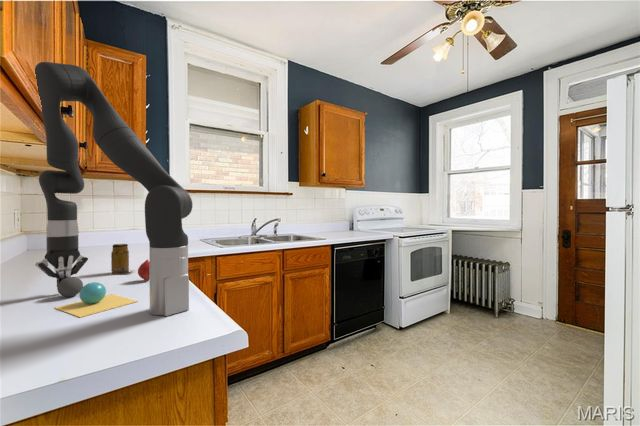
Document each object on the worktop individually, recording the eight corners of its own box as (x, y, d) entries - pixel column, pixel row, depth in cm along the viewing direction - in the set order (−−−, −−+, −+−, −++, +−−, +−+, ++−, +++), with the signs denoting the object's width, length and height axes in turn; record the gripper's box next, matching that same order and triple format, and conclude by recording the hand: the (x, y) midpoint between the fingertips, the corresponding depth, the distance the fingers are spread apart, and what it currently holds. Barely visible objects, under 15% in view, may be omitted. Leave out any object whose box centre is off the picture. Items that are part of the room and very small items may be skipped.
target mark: (137, 301, 84) (137, 301, 84) (80, 317, 72) (80, 316, 72) (111, 294, 91) (111, 294, 91) (54, 308, 79) (54, 307, 79)
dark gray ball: (73, 283, 93) (79, 298, 92) (50, 286, 88) (56, 302, 86) (83, 271, 92) (90, 287, 90) (60, 274, 86) (67, 290, 85)
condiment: (115, 271, 124) (115, 243, 124) (137, 270, 126) (137, 243, 126) (106, 275, 117) (106, 245, 117) (129, 274, 119) (129, 245, 118)
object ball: (95, 287, 87) (101, 305, 85) (71, 291, 81) (78, 310, 80) (106, 277, 86) (113, 295, 84) (84, 279, 80) (90, 298, 78)
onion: (134, 281, 107) (133, 260, 107) (147, 278, 112) (147, 257, 112) (146, 283, 105) (146, 261, 105) (159, 279, 111) (159, 258, 110)
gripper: (82, 232, 99) (82, 283, 99) (29, 235, 87) (30, 293, 87) (93, 233, 95) (93, 286, 95) (40, 237, 84) (40, 296, 84)
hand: (63, 289), depth 91 cm, fingers closed
